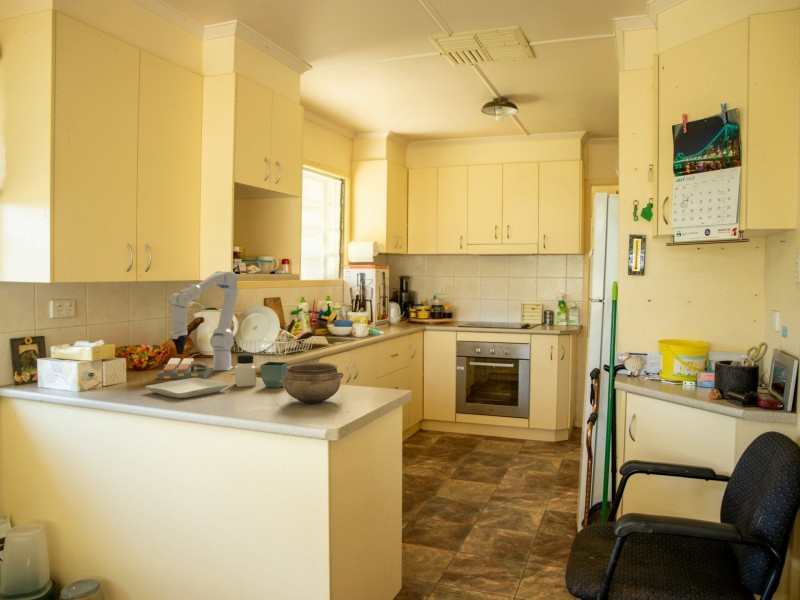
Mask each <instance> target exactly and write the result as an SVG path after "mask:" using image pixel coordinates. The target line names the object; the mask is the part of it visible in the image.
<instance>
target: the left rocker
mask: <svg viewBox="0 0 800 600" xmlns="http://www.w3.org/2000/svg"><path fill="white" fill-rule="evenodd" d="M181 360H182V359H181V357H171V358H170V359H169V360H168V362H167V364H165V365H166V367H165V368H164V367H163V370H164V372H174V371H175V369H176V368H177V365H180V364H181V362H182V361H181Z"/></svg>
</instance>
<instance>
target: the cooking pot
mask: <svg viewBox="0 0 800 600" xmlns="http://www.w3.org/2000/svg"><path fill="white" fill-rule="evenodd" d="M286 368H287V369H288V371H287V374H286V376H285V380H284V381H282V380H280V381H279V383H281V384H284V385H283V387H284V389H285V391H286V393H287V394H288V396H290V397H292V398H294V399H295V400H297V401H298V402H300V403H302V404H303V405H320V404H322V403H323V402H325V401H326V400H329V399H330V398H331V397H333V396H334V395H336V394H337V392H338V391H339V389H340V388H341V379H342V378H343V377H344V373H343V372H338V368H339V365H337V364H335V363H329V362H328V363H327V362H301V363H295V364H294V363H293V364H289V366H287V367H286Z"/></svg>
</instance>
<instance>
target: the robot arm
mask: <svg viewBox="0 0 800 600" xmlns="http://www.w3.org/2000/svg"><path fill="white" fill-rule="evenodd" d="M238 280H239V277H238V275H237V274H236V273H235V272H234V271H231V270H230V271H220V270H218V271H215V272H213V273H211V274H210V275H209V276H208V277H206V278H205V279H204V280H202V281H201V282H199V283H197V284H195V283H192V284H188V285H187V287H186V288H184V289H181V290H179V292H178V293H177V292H175V293H172V295H171V296H170V298H169V300H168V303H169V305H170V306H171V308H170V309H171V317H172V318H171V319H172V320H171V321H172V323H171V324H172V331H170V332H169V335H171V340H172V342H173V344H174V347H175V351H176V354H177V355H183V354H184V352H185V348H186V347H185V346H186V344H187V341H188V339H189V337H188V333H189V332H188V323H187V321H188V318H187V314H188V312H187V311H188V310H187V307H189V305H190V302H192V301H194V300H195V299H197V298H198V297H200V296H201V295H202V292H203V291H205V290H207V289H209V288H211V287H213V286H214V285H216V286H217V287H218V288H220V289H221V290H222V291H223V293H224V297H223V301H222V306H221V310H220V315H219V321H218V325H217V327H216V328H215V329H214V330H213V333H212V335H211V337H210V339H209V345H210V346H211V347H212V350H213V355H212V356H213V367H212V368H213V371H231V370H232V369H233V368H234V366H232V352H231V350H232V347H233V346H234V341H235V340H234V332H233V331H232V329H231V328H232V324H233V317H234V312H235V308H236V303H237V299H238V295H239V294H238V293H239V290H238V289H239V288H238Z"/></svg>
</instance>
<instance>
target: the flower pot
mask: <svg viewBox="0 0 800 600" xmlns="http://www.w3.org/2000/svg"><path fill="white" fill-rule="evenodd" d="M289 365H290V362H287V361H284V362H283V361H267V362H265V363H262V364H260V365H259V367H260V376H261V379H262V382H263V384H264V385H265V387H266V388H277V389H279V388H281V387H284V384H281V383H279V381H280V380H282V381H284V380H285V376H286V374H287V371H288V369H287V368H286V367H287V366H289Z"/></svg>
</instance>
